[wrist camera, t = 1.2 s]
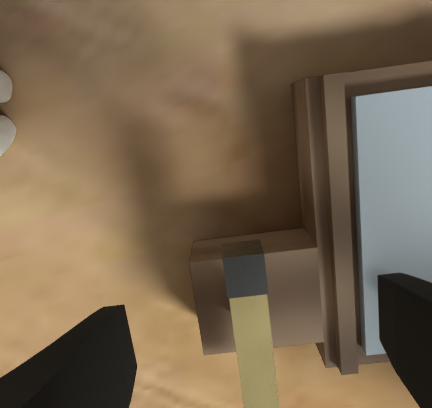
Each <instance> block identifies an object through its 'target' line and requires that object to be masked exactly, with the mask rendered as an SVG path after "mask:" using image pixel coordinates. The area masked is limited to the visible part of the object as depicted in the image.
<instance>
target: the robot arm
mask: <svg viewBox="0 0 432 408" xmlns="http://www.w3.org/2000/svg"><path fill="white" fill-rule="evenodd" d="M377 278H378V311H379V340H380V342H381V344H382V346H383V348H384V350H385V352H386V354H387V356H388V358H389V360H390V362H391V364H392V366H393V368H394V369H395V371H396V373H397V374H398V376H399V377H400V379H401V380H402V382H403V383H404V385H405V386H406V388H407V389H408V391H409V392H410V394H411V395H412V396H413V398H414V399H415V401H416V402H417V404H418V405H419V407H420V408H432V283H431V282H428V281H425V280H423V279H420V278H417V277H414V276H411V275H408V274H404V273H400V272H399V273H391V274H382V275H377ZM136 370H137V363H136V358H135V353H134V348H133V344H132V339H131V334H130V330H129V325H128V320H127V316H126V311H125V306H124V305H116V306H108V307H103V308H101V309H99V310H97V311H96V312H94V313H93V314H91V315H90V316H89V317H87V318H86V319H84V320H83V321H82V322H80V323H79V324H78V325H76V326H75V327H73V328H72V329H71V330H69V331H68V332H67V333H65V334H64V335H63V336H61V337H60V338H59V339H57V340H56V341H54V342H53V343H52V344H50V345H49V346H47V347H46V348H45V349H43V350H42V351H40V352H39V353H37V354H36V355H34V356H33V357H31V358H30V359H28V360H27V361H26V362H24V363H23V364H21V365H20V366H18V367H17V368H15V369H14V370H12V371H10V372H9V373H7V374H6V375H4V376H2V377H1V378H0V408H129V405H130V402H131V397H132V392H133V387H134V382H135V376H136Z"/></svg>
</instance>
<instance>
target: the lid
mask: <svg viewBox="0 0 432 408" xmlns="http://www.w3.org/2000/svg"><path fill="white" fill-rule="evenodd" d="M351 118H352V141H353V163H354V186H355V208H356V231H357V253H358V276H359V298H360V321H361V344H362V349H363V351H364V352H365V354H366V356H367V355H376V354H385V353H386V352H385V350H384V348H383V346H382V344H381V342H380V340H379V311H378V278H377V275H382V274H391V273H399V272H400V273H404V274H408V275H411V276H414V277H417V278H420V279H423V280H425V281H428V282H431V283H432V86H429V87H421V88H414V89H407V90H399V91H392V92H385V93H377V94H370V95H363V96H355V97H351Z"/></svg>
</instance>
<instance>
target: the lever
mask: <svg viewBox="0 0 432 408" xmlns="http://www.w3.org/2000/svg"><path fill="white" fill-rule="evenodd" d="M222 261H223V268H224V275H225V283H226V290H227V297H228V299H229V301H230V309H231V316H232V324H233V337H234V340H235V345H236V352H237V360H238V367H239V374H240V382H241V389H242V396H243V403H244V408H280V407H279V398H278V389H277V380H276V371H275V362H274V353H273V344H272V335H271V325H270V316H269V307H268V298H267V294H268V285H267V275H266V266H265V257H264V251H263V248H262V245H261V242H260V239H257V240H249V241H241V242H233V243H225V244H222Z"/></svg>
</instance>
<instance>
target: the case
mask: <svg viewBox="0 0 432 408" xmlns="http://www.w3.org/2000/svg"><path fill="white" fill-rule="evenodd" d="M429 86H432V61H426V62H419V63H411V64H404V65H397V66H390V67H383V68H376V69H368V70H361V71H354V72H347V73H344V72H341V73H334V74H327V75H322V76H318V77H311V78H305V79H302V80H299V81H297V82H294V83H292V96H293V108H294V121H295V133H296V146H297V158H298V171H299V183H300V195H301V208H302V220H303V228H297V229H289V230H281V231H273V232H265V233H257V234H249V235H241V236H232V237H224V238H216V239H208V240H200V241H193V245H192V250H191V255H190V260H189V266H190V273H191V279H192V285H193V291H194V297H195V304H196V310H197V316H198V322H199V328H200V334H201V341H202V347H203V353H204V355H211V354H220V353H229V352H236V345H235V340H234V337H233V324H232V316H231V309H230V301H229V299H228V297H227V290H226V283H225V275H224V268H223V261H222V244H225V243H233V242H241V241H249V240H257V239H260V242H261V245H262V248H263V251H264V257H265V266H266V275H267V285H268V294H267V298H268V307H269V316H270V325H271V335H272V344H273V348H274V347H283V346H292V345H302V344H311V343H316V345H317V348H318V350H319V353H320V355H321V357H322V360H323V362H324V365H325V367H326V368H331V367H338V368H339V370H340V372H341V375H346V374H355V373H358V365H359V364H368V363H377V362H387V361H390V360H389V358H388V356H387V354H386V353H385V354H376V355H367V356H366V354H365V352H364V351H363V349H362V344H361V321H360V298H359V276H358V253H357V231H356V208H355V186H354V163H353V141H352V118H351V97H355V96H363V95H370V94H377V93H385V92H392V91H399V90H407V89H414V88H421V87H429Z"/></svg>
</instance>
